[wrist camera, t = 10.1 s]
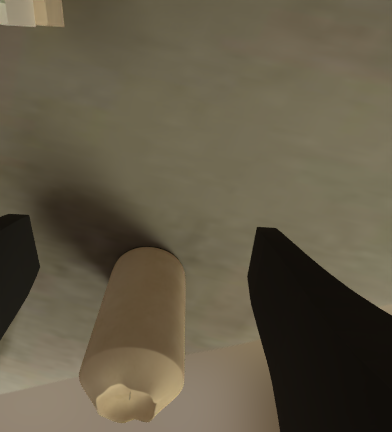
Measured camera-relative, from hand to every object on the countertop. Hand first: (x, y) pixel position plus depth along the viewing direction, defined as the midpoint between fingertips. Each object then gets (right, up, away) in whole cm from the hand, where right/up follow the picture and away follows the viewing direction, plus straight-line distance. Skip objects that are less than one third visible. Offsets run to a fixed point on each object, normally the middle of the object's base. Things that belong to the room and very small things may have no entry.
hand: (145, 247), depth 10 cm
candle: (-2, -3, +14) cm, 15 cm away
